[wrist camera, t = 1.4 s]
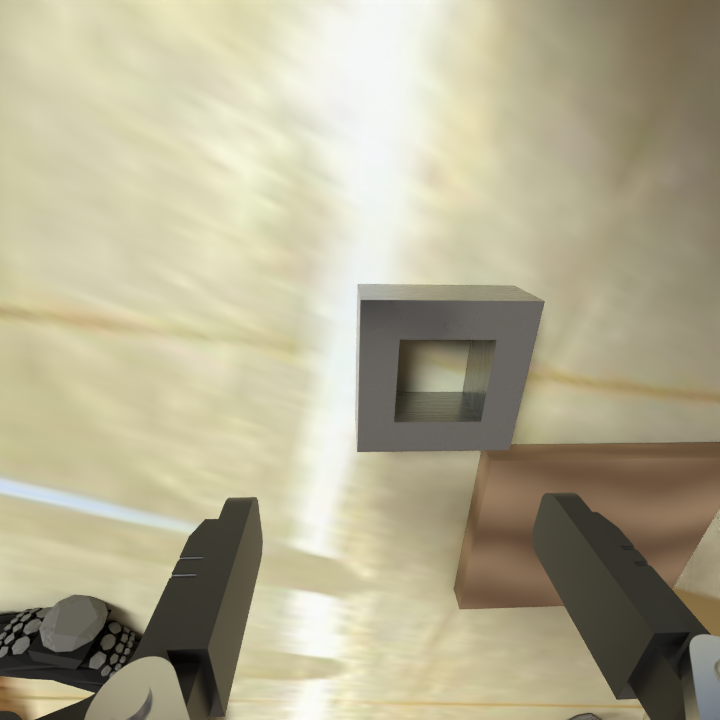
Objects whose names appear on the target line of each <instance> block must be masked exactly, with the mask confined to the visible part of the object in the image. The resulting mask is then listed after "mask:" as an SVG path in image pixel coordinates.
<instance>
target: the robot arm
mask: <svg viewBox="0 0 720 720" xmlns="http://www.w3.org/2000/svg"><path fill="white" fill-rule="evenodd" d="M532 542H533V547H534V550H535V553H536V555H537V557H538V559H539V561H540V563H541V564H542V566H543V568H544V570H545V572H546V573H547V575H548V577H549V579H550V580H551V582H552V584H553V586H554V588H555V589H556V591H557V593H558V595H559V597H560V598H561V600H562V602H563V604H564V606H565V607H566V609H567V611H568V613H569V615H570V616H571V618H572V620H573V622H574V624H575V625H576V627H577V629H578V631H579V633H580V634H581V636H582V638H583V640H584V642H585V643H586V645H587V647H588V649H589V650H590V652H591V654H592V656H593V658H594V659H595V661H596V663H597V665H598V667H599V668H600V670H601V672H602V674H603V676H604V677H605V679H606V681H607V683H608V685H609V686H610V688H611V690H612V692H613V694H614V695H615V697H616V699H617V700H621V699H638V700H639V701H640V703H641V705H642V706H643V708H644V710H645V711H646V712H645V713H644V716H643V720H720V637H717V636H713V635H711V634H710V633H709V632H708V631H707V630H706V629H705V628H704V626H703V625H702V624H701V623H700V622H699V621H698V619H697V618H696V617H695V616H694V615H693V614H692V612H691V611H690V610H689V609H688V608H687V607H686V606H685V604H684V603H683V602H682V601H681V600H680V599H679V597H678V596H677V595H676V594H675V593H674V592H673V590H672V589H671V588H670V587H669V586H668V585H667V583H666V582H665V581H664V580H663V579H662V578H661V576H660V575H659V574H658V573H657V572H656V571H655V570H654V568H653V567H652V566H649V565H648V563H647V562H648V561H647V560H646V559H645V558H644V557H643V556H642V554H641V553H640V552H639V551H638V550H635V548H634V545H633V544H632V543H631V542H630V540H629V539H628V538H627V537H626V536H625V535H624V534H623V532H622V531H621V530H620V529H619V528H618V527H617V526H616V525H614V524H613V523H612V522H610V521H609V520H608V519H606V518H605V517H604V516H602V515H601V514H600V513H598V512H592V511H591V510H590V508H589V507H588V506H587V505H586V504H585V502H584V501H583V500H582V499H581V497H580V496H579V495H577V494H576V493H573V492H563V493H545V494H544V495H543V496H542V499H541V503H540V506H539V510H538V513H537V516H536V520H535V523H534V527H533V530H532ZM262 543H263V540H262V530H261V522H260V514H259V506H258V500H257V498H256V497H247V498H228V499H227V500H226V502H225V504H224V506H223V509H222V511H221V514H220V517H219V519H205V520H204V521H203V522H202V523H201V524H200V526H199V527H198V528H197V529H196V530H195V531H194V532H193V533H192V534H191V535H190V536H189V538H188V540H187V542H186V544H185V547H184V549H183V551H182V553H181V555H180V560H179V561H178V562H177V564H176V566H175V568H174V570H173V572H172V577H171V578H170V579H169V581H168V583H167V585H166V587H165V590H164V592H163V594H162V596H161V598H160V600H159V602H158V605H157V607H156V609H155V611H154V613H153V615H152V617H151V620H150V622H149V624H148V626H147V628H146V630H145V632H144V635H143V637H142V639H141V641H140V643H139V645H138V647H137V649H136V651H135V653H134V655H133V656H132V658H131V659H130V661H129V662H128V664H127V665H126V666H124V667H123V668H122V669H120V670H119V671H118V672H116V673H115V674H114V675H113V676H112V677H111V678H110V679H109V680H108V681H107V682H106V683H105V684H104V685H103V686H102V688H101V689H100V690H99V691H98V692H97V693H95V694H93V695H92V696H90V697H88V698H87V699H84V700H82V701H80V702H78V703H75V704H73V705H70V706H68V707H65V708H63V709H60V710H58V711H55V712H53V713H50V714H48V715H45V716H43V717H40V718H38V719H35V720H209V717H223V716H225V713H226V709H227V704H228V700H229V696H230V691H231V687H232V683H233V678H234V674H235V670H236V665H237V661H238V657H239V653H240V648H241V644H242V640H243V635H244V631H245V627H246V622H247V618H248V614H249V609H250V605H251V601H252V596H253V592H254V588H255V583H256V579H257V575H258V571H259V566H260V562H261V556H262ZM0 720H22V719H21V717H20V716H19V715H17V714H16V713H14V712H10V711H0Z"/></svg>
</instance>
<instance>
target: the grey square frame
mask: <svg viewBox="0 0 720 720" xmlns="http://www.w3.org/2000/svg"><path fill="white" fill-rule="evenodd" d="M544 302H545V301H543V300H541V299H539V298H537V297H535V296H533V295H531V294H529V293H527V292H525V291H523V290H521V289H519V288H518V287H516V286H478V285H378V284H358V297H357V356H356V415H355V420H356V438H357V452H396V451H474V450H509V449H510V444H511V440H512V436H513V432H514V428H515V423H516V419H517V415H518V411H519V407H520V403H521V398H522V394H523V390H524V386H525V382H526V377H527V373H528V369H529V365H530V361H531V356H532V352H533V348H534V344H535V340H536V336H537V331H538V327H539V323H540V319H541V315H542V310H543V306H544ZM400 340H471V343H470V349H469V356H468V362H467V368H466V374H465V381H464V387H463V392H396V388H397V374H398V360H399V345H400Z"/></svg>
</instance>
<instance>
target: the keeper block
mask: <svg viewBox="0 0 720 720" xmlns="http://www.w3.org/2000/svg"><path fill="white" fill-rule="evenodd" d="M563 492H573V493H576V494H577V495H579V496H580V497H581V499H582V500H583V501H584V502H585V504H586V505H587V506H588V507H589V508H590V510H591V511H592V512H598V513H600V514H601V515H602V516H604V517H605V518H606V519H608V520H609V521H610V522H612V523H613V524H614V525H616V526H617V527H618V528H619V529H620V530H621V531H622V532H623V534H624V535H625V536H626V537H627V538H628V539H629V540H630V542H631V543H632V544H633V545H634V548H635V550H638V551H639V552H640V553H641V554H642V556H643V557H644V558H645V559H646V560H647V561H648V562H647V563H648V565H649V566H652V567H653V568H654V570H655V571H656V572H657V573H658V574H659V575H660V576H661V578H662V579H663V580H664V581H665V582H666V583H667V585H668V586H669V587H670V588H671V589H672V588H673V586H674V584H675V583H676V581H677V579H678V578H679V576H680V574H681V573H682V571H683V569H684V567H685V566H686V564H687V562H688V561H689V559H690V557H691V556H692V554H693V552H694V551H695V549H696V547H697V545H698V544H699V542H700V540H701V539H702V537H703V535H704V534H705V532H706V530H707V528H708V527H709V525H710V523H711V522H712V520H713V518H714V517H715V515H716V513H717V512H718V510H719V508H720V442H703V443H619V444H535V445H510V449H509V450H482V451H481V456H480V461H479V466H478V471H477V476H476V481H475V486H474V491H473V496H472V501H471V506H470V511H469V516H468V521H467V526H466V531H465V536H464V541H463V546H462V551H461V556H460V561H459V566H458V571H457V576H456V581H455V586H454V591H455V595H456V598H457V602H458V605H459V609H485V608H514V607H543V606H564V604H563V602H562V600H561V598H560V597H559V595H558V593H557V591H556V589H555V588H554V586H553V584H552V582H551V580H550V579H549V577H548V575H547V573H546V572H545V570H544V568H543V566H542V564H541V563H540V561H539V559H538V557H537V555H536V553H535V550H534V547H533V542H532V530H533V527H534V523H535V520H536V516H537V513H538V510H539V506H540V503H541V499H542V496H543V495H544V494H545V493H563Z"/></svg>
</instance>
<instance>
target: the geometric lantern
mask: <svg viewBox="0 0 720 720" xmlns="http://www.w3.org/2000/svg"><path fill="white" fill-rule="evenodd" d="M585 719H588V720H592V719H593V720H600V719H598V718H596V717H595V716H593V715H592V714H590V713H589V714H584V715H579V716H577V717H575V718H573V719H570V720H585Z"/></svg>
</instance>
